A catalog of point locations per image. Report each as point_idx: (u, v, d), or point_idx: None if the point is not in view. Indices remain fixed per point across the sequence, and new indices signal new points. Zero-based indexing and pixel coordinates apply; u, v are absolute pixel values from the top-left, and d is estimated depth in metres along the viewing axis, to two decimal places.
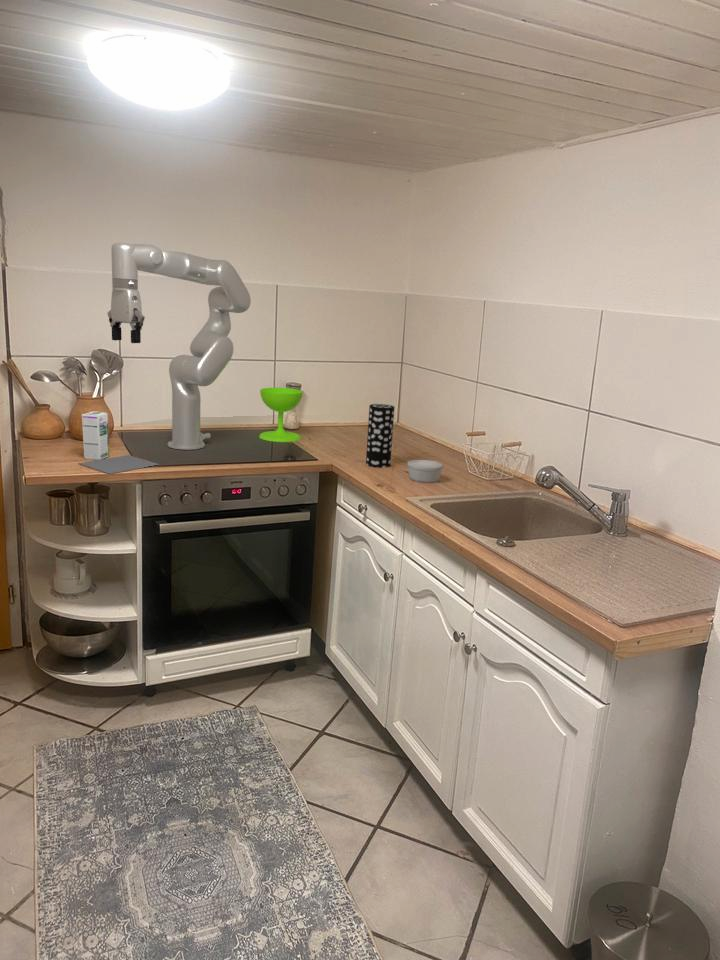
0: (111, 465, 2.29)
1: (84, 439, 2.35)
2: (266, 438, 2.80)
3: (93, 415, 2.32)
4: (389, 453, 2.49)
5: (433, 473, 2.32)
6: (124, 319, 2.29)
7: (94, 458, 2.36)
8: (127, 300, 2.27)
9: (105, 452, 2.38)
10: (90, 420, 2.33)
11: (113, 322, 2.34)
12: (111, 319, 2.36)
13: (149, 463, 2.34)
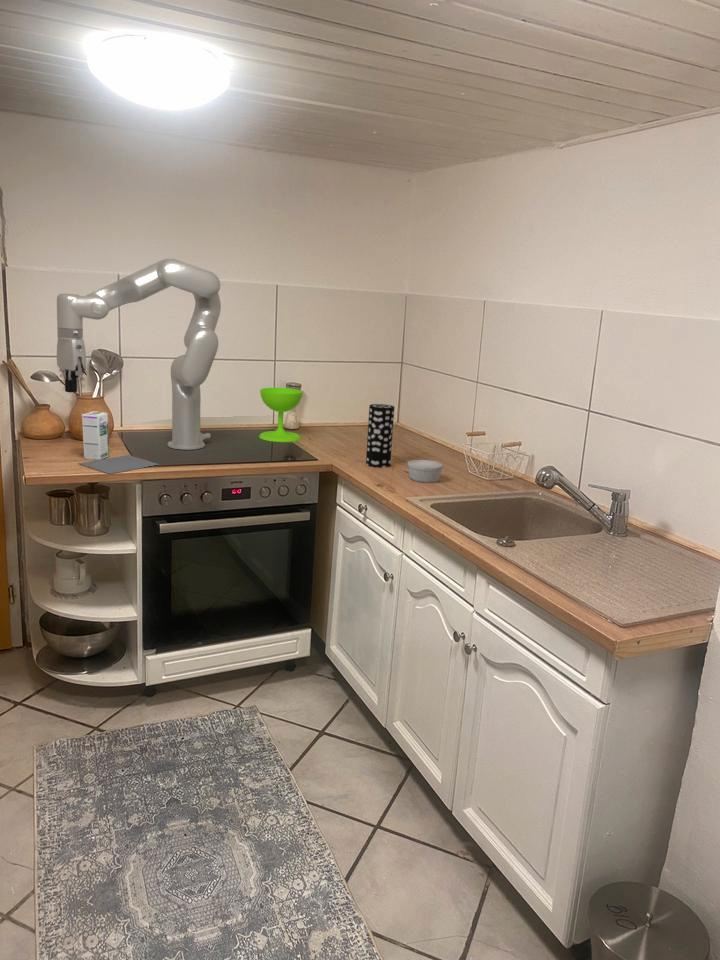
0: (111, 465, 2.29)
1: (84, 439, 2.35)
2: (266, 438, 2.80)
3: (93, 415, 2.32)
4: (389, 453, 2.49)
5: (433, 473, 2.32)
6: (68, 367, 2.35)
7: (94, 458, 2.36)
8: (71, 349, 2.33)
9: (105, 452, 2.38)
10: (90, 420, 2.33)
11: (64, 372, 2.39)
12: None
13: (149, 463, 2.34)
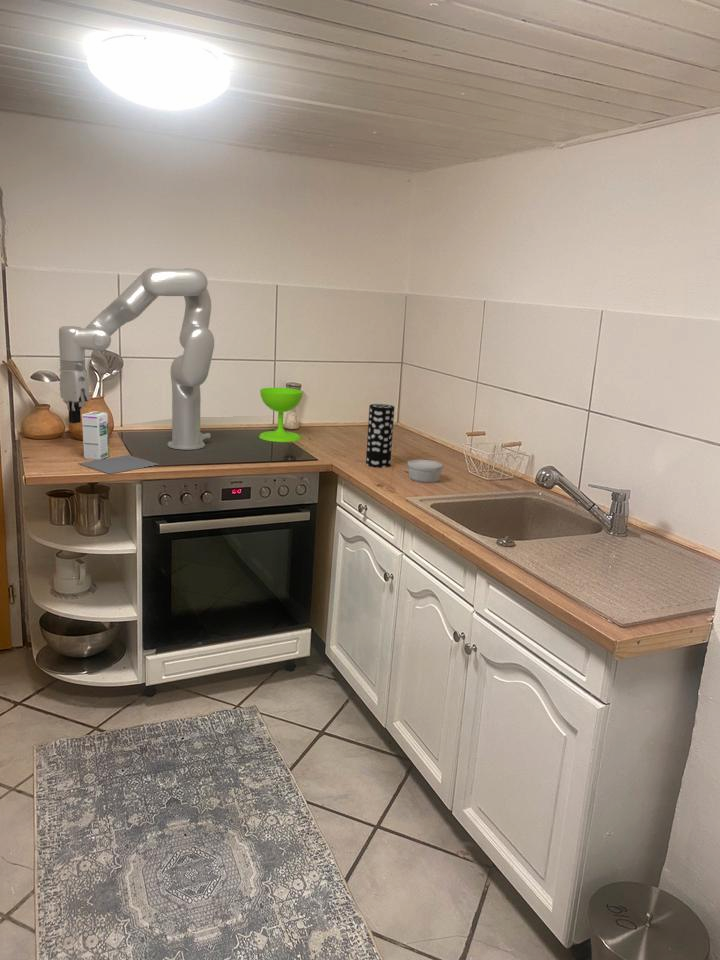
0: (111, 465, 2.29)
1: (84, 439, 2.35)
2: (266, 438, 2.80)
3: (93, 415, 2.32)
4: (389, 453, 2.49)
5: (433, 473, 2.32)
6: (72, 398, 2.38)
7: (94, 458, 2.36)
8: (74, 381, 2.35)
9: (105, 452, 2.38)
10: (90, 420, 2.33)
11: (68, 404, 2.41)
12: None
13: (149, 463, 2.34)
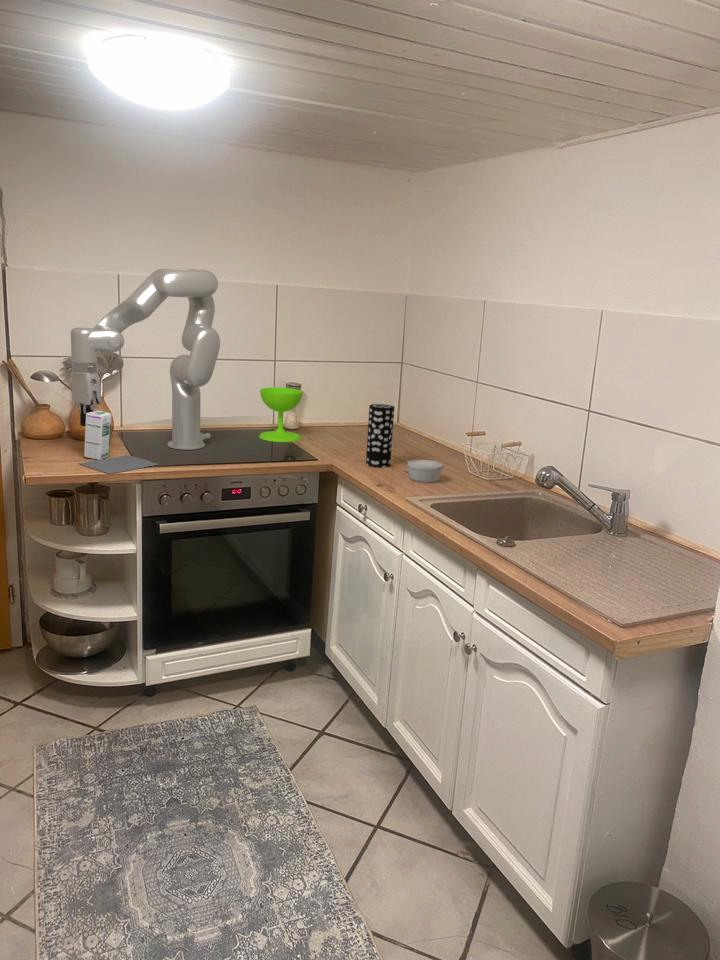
0: (111, 465, 2.29)
1: (86, 438, 2.35)
2: (266, 438, 2.80)
3: (97, 415, 2.32)
4: (389, 453, 2.49)
5: (433, 473, 2.32)
6: (83, 401, 2.34)
7: (94, 457, 2.36)
8: (86, 383, 2.32)
9: (106, 452, 2.38)
10: (94, 420, 2.32)
11: (79, 406, 2.37)
12: None
13: (149, 463, 2.34)
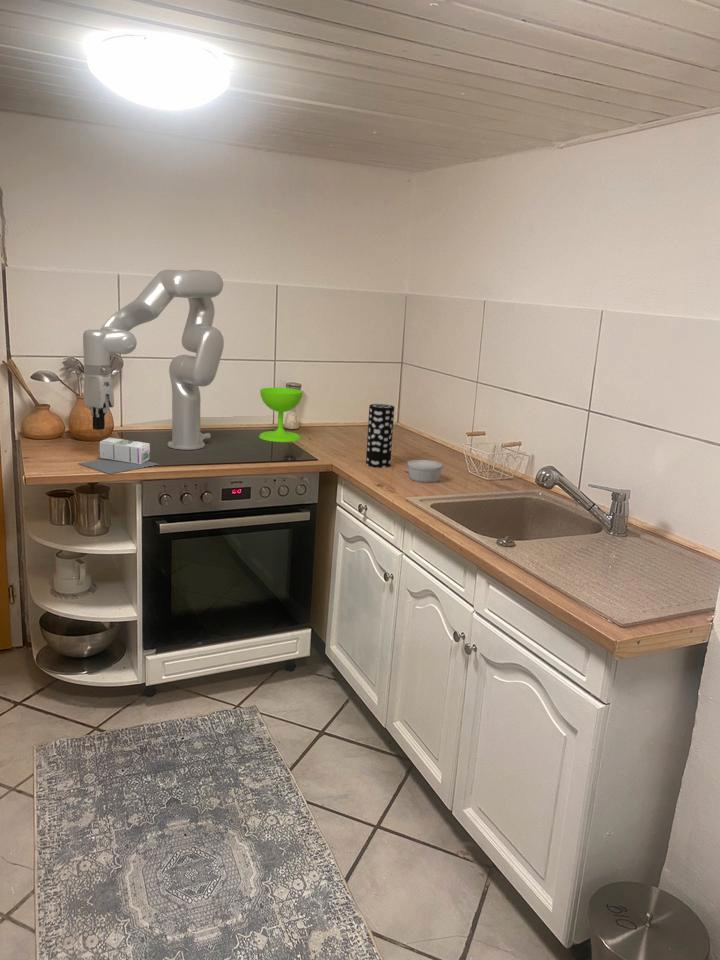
0: (111, 465, 2.29)
1: (117, 445, 2.32)
2: (266, 438, 2.80)
3: (140, 459, 2.32)
4: (389, 453, 2.49)
5: (433, 473, 2.32)
6: (96, 404, 2.30)
7: (100, 452, 2.35)
8: (98, 386, 2.28)
9: None
10: (135, 455, 2.32)
11: (92, 410, 2.33)
12: None
13: (149, 463, 2.34)
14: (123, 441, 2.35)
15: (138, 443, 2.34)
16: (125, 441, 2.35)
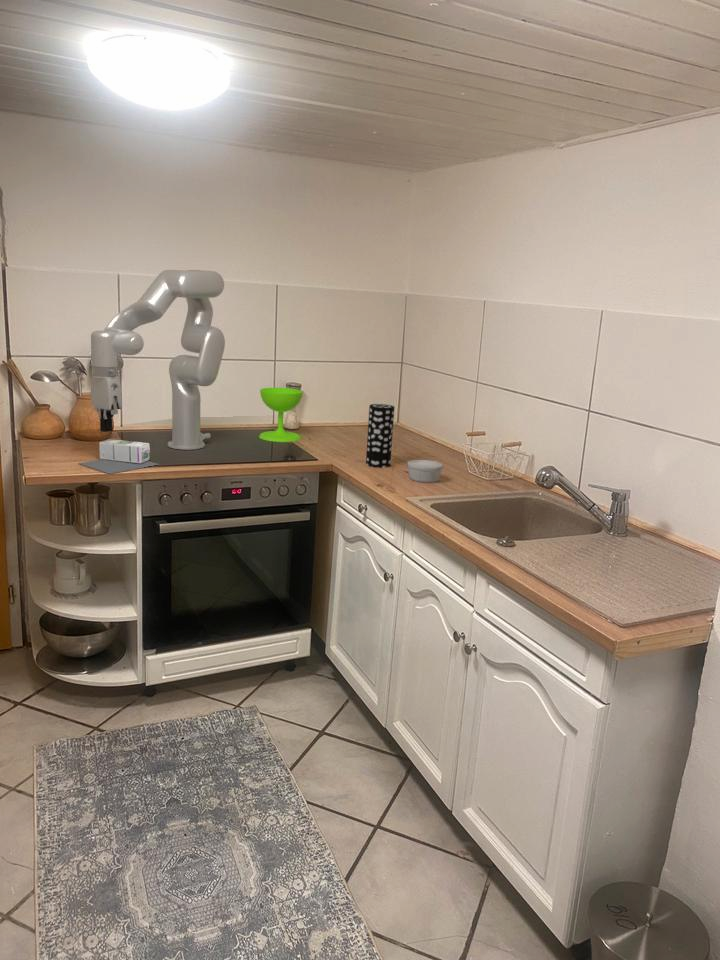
0: (111, 465, 2.29)
1: (116, 445, 2.33)
2: (266, 438, 2.80)
3: (140, 458, 2.32)
4: (389, 453, 2.49)
5: (433, 473, 2.32)
6: (104, 406, 2.28)
7: (100, 453, 2.35)
8: (106, 388, 2.25)
9: None
10: (135, 454, 2.32)
11: (99, 411, 2.31)
12: None
13: (149, 463, 2.34)
14: (123, 442, 2.35)
15: (138, 443, 2.35)
16: (125, 441, 2.36)
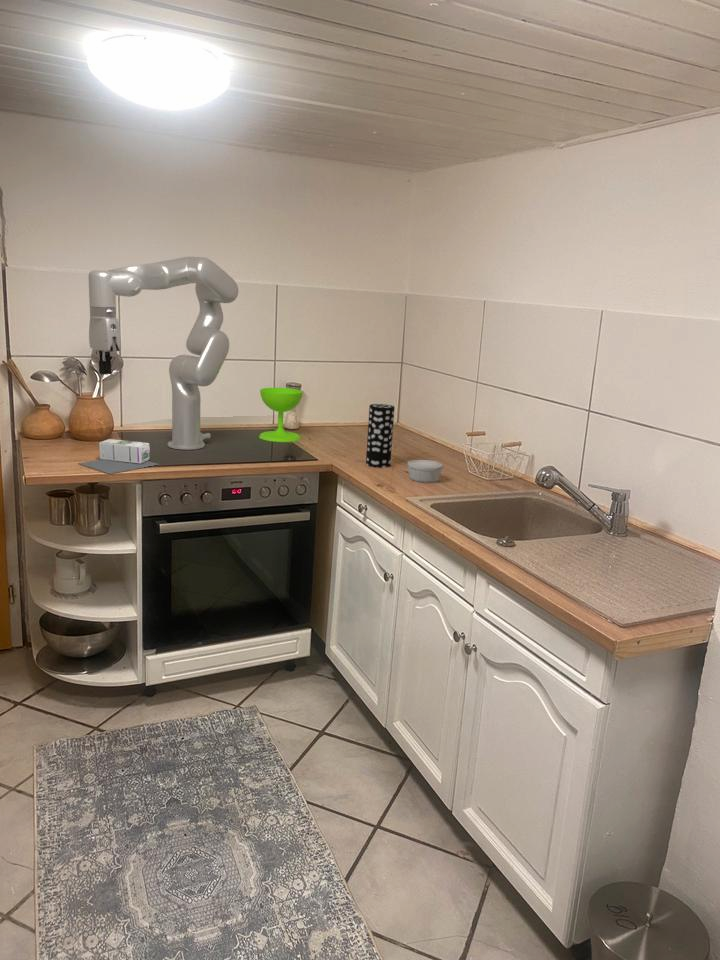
0: (111, 465, 2.29)
1: (116, 445, 2.33)
2: (266, 438, 2.80)
3: (140, 458, 2.32)
4: (389, 453, 2.49)
5: (433, 473, 2.32)
6: (103, 347, 2.26)
7: (100, 453, 2.35)
8: (105, 328, 2.23)
9: None
10: (135, 455, 2.32)
11: (98, 353, 2.29)
12: None
13: (149, 463, 2.34)
14: (123, 442, 2.35)
15: (138, 443, 2.35)
16: (125, 441, 2.35)
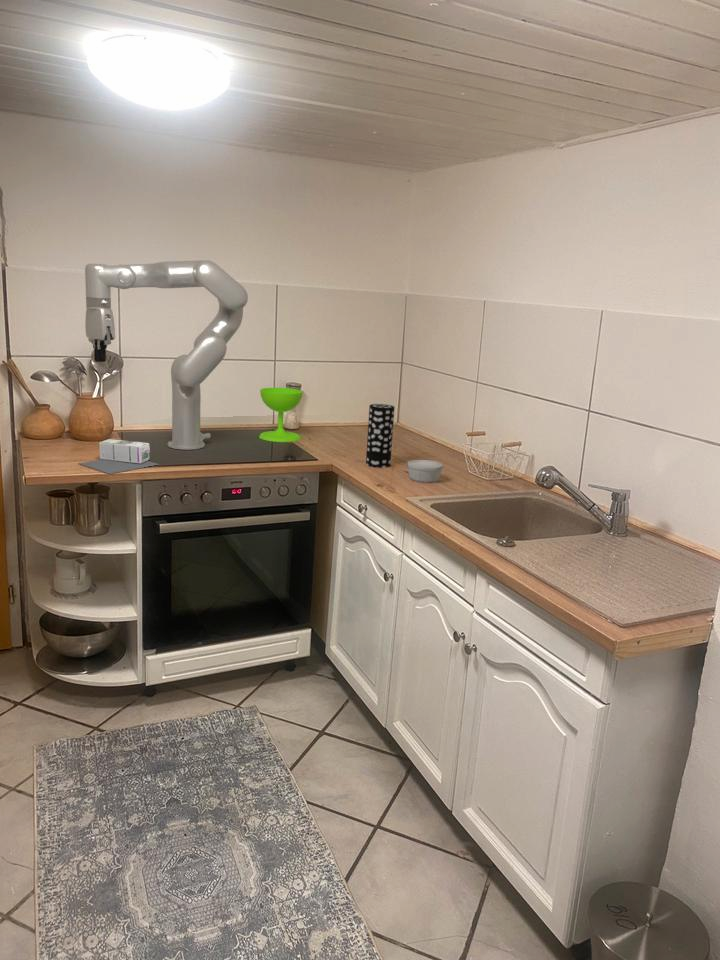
0: (111, 465, 2.29)
1: (116, 445, 2.33)
2: (266, 438, 2.80)
3: (140, 458, 2.32)
4: (389, 453, 2.49)
5: (433, 473, 2.32)
6: (98, 336, 2.39)
7: (100, 453, 2.35)
8: (100, 318, 2.37)
9: None
10: (135, 455, 2.32)
11: (93, 342, 2.42)
12: None
13: (149, 463, 2.34)
14: (123, 442, 2.35)
15: (138, 443, 2.35)
16: (125, 441, 2.36)
